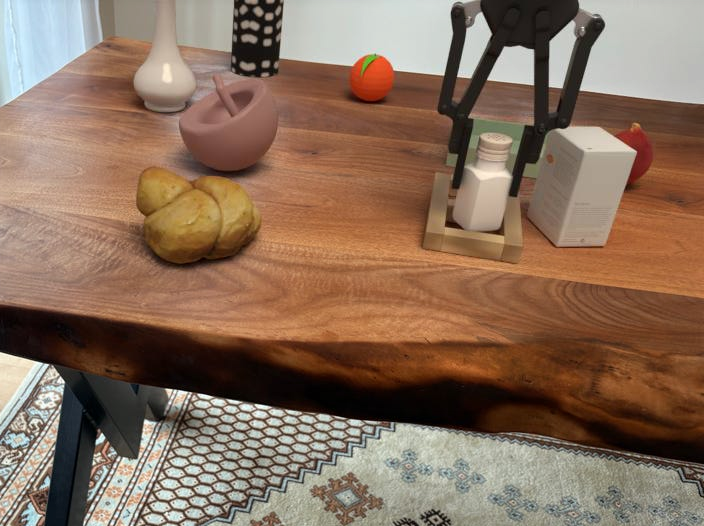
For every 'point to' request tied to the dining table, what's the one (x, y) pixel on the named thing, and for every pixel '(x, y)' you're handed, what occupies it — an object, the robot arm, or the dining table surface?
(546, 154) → the small box
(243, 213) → the bread roll
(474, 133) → the tray
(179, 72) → the flower vase
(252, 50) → the spotted tube
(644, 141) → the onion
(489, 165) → the pepper shaker
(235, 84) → the mortar and pestle
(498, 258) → the spice stand
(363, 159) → the dining table surface
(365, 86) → the clementine
